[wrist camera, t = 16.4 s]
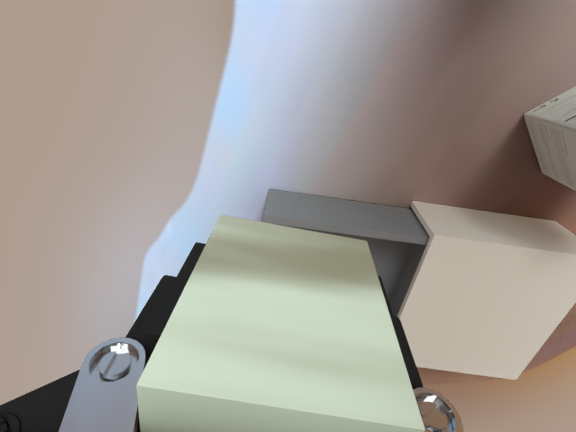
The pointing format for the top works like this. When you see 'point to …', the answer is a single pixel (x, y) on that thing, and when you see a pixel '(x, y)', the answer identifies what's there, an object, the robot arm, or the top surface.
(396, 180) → the top surface
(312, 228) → the tray
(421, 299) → the white drawer housing
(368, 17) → the top surface
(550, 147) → the supplement box
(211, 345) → the sage block
